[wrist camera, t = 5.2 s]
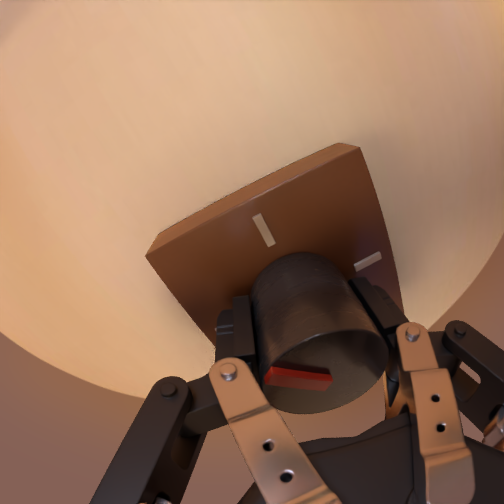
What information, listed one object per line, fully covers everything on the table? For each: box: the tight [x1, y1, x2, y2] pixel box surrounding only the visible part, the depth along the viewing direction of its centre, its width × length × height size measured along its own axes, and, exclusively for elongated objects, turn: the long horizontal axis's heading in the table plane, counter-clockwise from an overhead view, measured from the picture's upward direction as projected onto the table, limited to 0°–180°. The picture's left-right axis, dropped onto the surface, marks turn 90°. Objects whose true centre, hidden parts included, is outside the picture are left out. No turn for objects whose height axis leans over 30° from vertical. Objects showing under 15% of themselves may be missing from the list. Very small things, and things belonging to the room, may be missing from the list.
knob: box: [250, 253, 389, 414], centre depth 10 cm, size 4×4×5 cm
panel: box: [145, 143, 404, 347], centre depth 14 cm, size 10×10×3 cm
